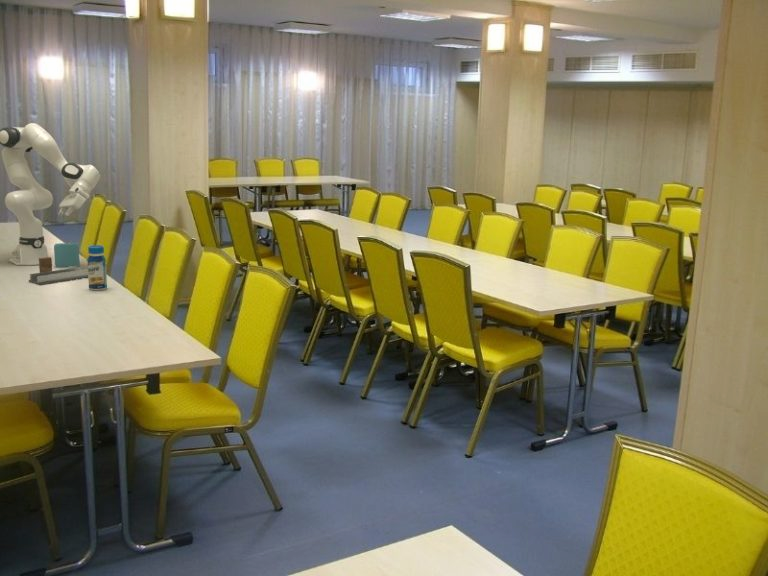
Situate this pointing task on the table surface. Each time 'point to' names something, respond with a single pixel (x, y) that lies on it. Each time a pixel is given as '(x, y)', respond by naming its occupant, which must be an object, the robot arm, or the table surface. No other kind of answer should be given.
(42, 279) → the rail
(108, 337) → the table surface
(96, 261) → the beverage bottle
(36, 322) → the table surface
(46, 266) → the brown rectangular block
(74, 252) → the data package
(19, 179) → the robot arm
